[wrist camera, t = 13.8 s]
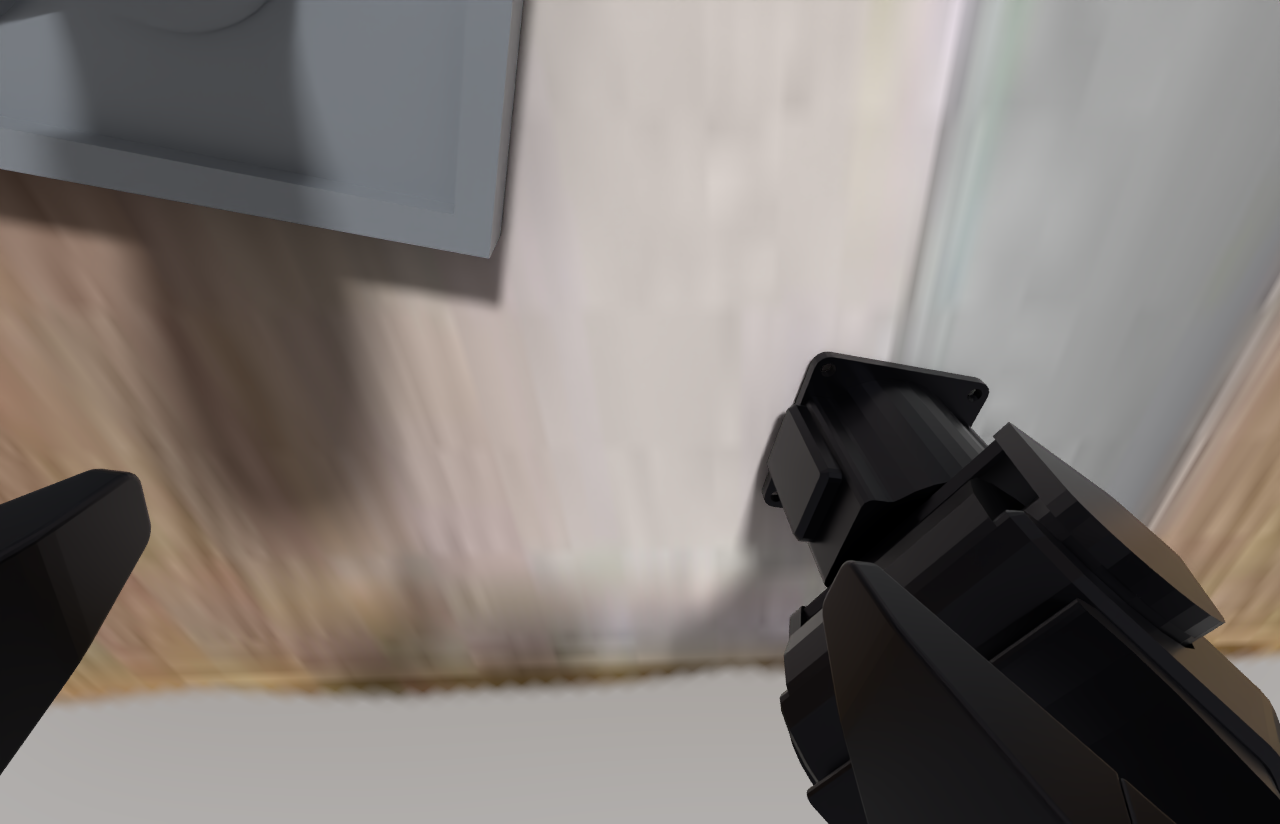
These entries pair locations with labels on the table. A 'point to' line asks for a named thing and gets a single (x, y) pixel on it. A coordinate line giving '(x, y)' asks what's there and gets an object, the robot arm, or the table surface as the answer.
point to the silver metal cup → (142, 12)
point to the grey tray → (280, 113)
